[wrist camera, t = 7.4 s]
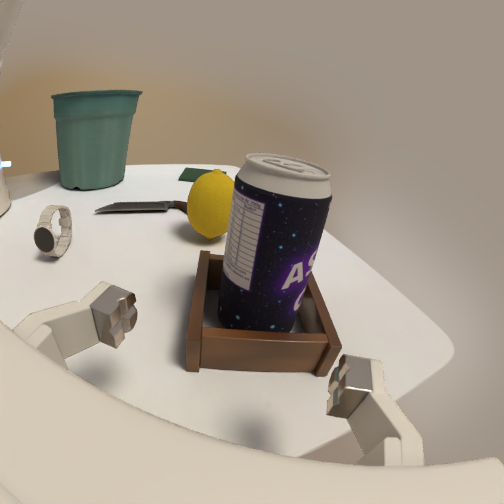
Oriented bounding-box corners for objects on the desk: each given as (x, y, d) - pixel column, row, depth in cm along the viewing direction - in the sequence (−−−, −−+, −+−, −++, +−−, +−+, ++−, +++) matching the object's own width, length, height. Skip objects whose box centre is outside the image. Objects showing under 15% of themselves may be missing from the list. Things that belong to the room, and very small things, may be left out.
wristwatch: (38, 263, 22) (29, 216, 20) (59, 239, 26) (54, 197, 24) (60, 267, 22) (52, 218, 20) (80, 242, 27) (76, 198, 24)
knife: (195, 204, 40) (195, 200, 40) (200, 215, 37) (200, 210, 37) (97, 206, 35) (97, 201, 35) (93, 217, 32) (93, 212, 32)
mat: (178, 180, 50) (179, 177, 50) (185, 169, 57) (185, 167, 57) (225, 185, 51) (225, 182, 51) (225, 174, 59) (226, 171, 58)
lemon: (240, 250, 31) (252, 177, 27) (189, 252, 29) (196, 175, 25) (225, 227, 35) (234, 164, 32) (181, 229, 33) (186, 162, 29)
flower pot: (68, 170, 49) (71, 94, 42) (140, 169, 54) (147, 91, 46) (36, 196, 35) (34, 96, 28) (127, 195, 40) (134, 89, 32)
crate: (186, 371, 16) (186, 339, 15) (198, 279, 25) (200, 250, 24) (326, 376, 18) (342, 346, 16) (299, 289, 26) (307, 261, 25)
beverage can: (270, 364, 18) (322, 184, 12) (201, 326, 20) (218, 155, 14) (301, 319, 23) (346, 172, 17) (241, 291, 25) (266, 149, 19)
